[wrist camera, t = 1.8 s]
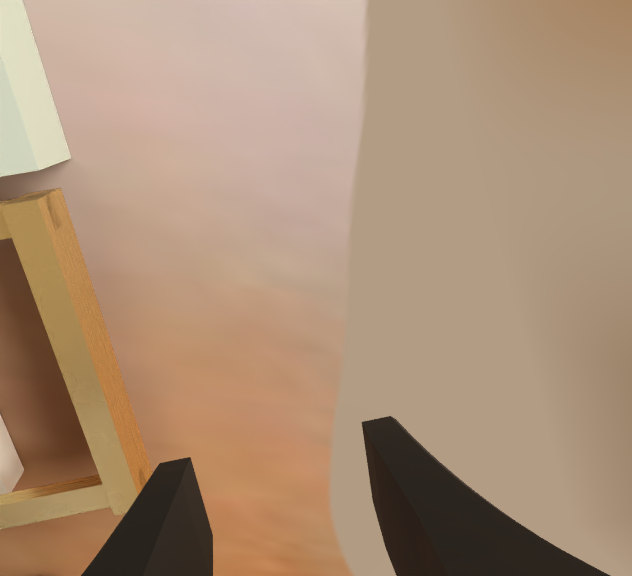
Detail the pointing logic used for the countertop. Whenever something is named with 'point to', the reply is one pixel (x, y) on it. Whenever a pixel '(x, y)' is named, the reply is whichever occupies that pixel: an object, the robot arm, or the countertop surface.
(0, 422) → the socket block
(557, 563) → the robot arm
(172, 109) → the countertop surface
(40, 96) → the square cutout plate
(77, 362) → the gold rectangular frame
